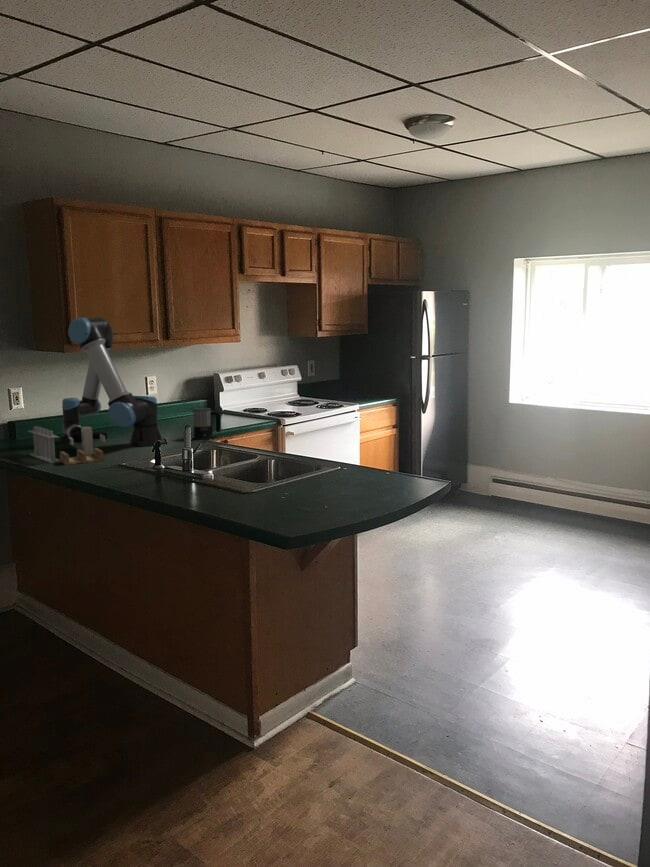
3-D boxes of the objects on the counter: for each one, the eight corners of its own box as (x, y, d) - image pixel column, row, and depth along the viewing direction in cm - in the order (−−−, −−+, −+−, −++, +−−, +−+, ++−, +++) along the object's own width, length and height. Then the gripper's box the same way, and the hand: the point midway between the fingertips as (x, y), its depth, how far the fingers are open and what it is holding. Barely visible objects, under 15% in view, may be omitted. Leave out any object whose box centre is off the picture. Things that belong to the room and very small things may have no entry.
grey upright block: (90, 452, 322) (89, 426, 320) (93, 454, 318) (91, 427, 316) (82, 453, 320) (80, 427, 319) (85, 455, 316) (83, 428, 314)
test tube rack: (29, 455, 318) (27, 425, 316) (39, 454, 321) (37, 424, 319) (50, 463, 299) (48, 432, 297) (61, 462, 302) (58, 431, 300)
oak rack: (98, 456, 313) (97, 447, 312) (104, 460, 304) (103, 451, 304) (59, 460, 304) (59, 451, 304) (65, 465, 296) (64, 455, 295)
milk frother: (199, 440, 353) (198, 410, 351) (183, 436, 366) (182, 407, 363) (224, 437, 362) (223, 407, 360) (208, 433, 374) (207, 405, 372)
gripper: (104, 439, 341) (117, 446, 323) (49, 444, 328) (59, 451, 310) (103, 423, 339) (116, 429, 322) (48, 428, 326) (58, 434, 309)
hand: (88, 440), depth 316 cm, fingers open, 13 cm apart
